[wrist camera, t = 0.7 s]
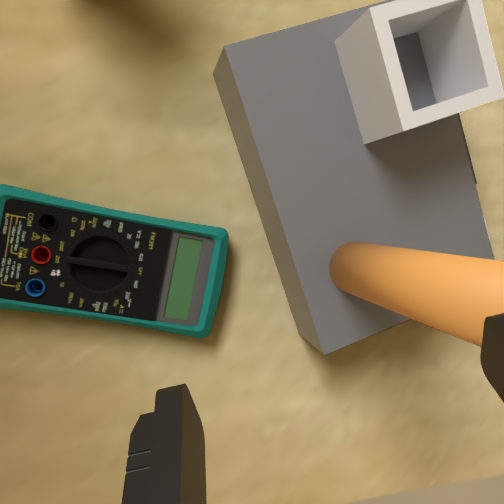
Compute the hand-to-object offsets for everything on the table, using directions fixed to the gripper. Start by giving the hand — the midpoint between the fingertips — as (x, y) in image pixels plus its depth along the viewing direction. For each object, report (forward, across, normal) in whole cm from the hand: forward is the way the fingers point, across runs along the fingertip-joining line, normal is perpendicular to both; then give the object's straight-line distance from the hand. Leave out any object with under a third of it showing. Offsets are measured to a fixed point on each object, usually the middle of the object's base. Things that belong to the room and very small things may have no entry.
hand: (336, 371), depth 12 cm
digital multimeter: (+18, +11, +6) cm, 22 cm away
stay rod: (+14, -4, +8) cm, 17 cm away
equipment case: (+21, -6, +5) cm, 23 cm away
